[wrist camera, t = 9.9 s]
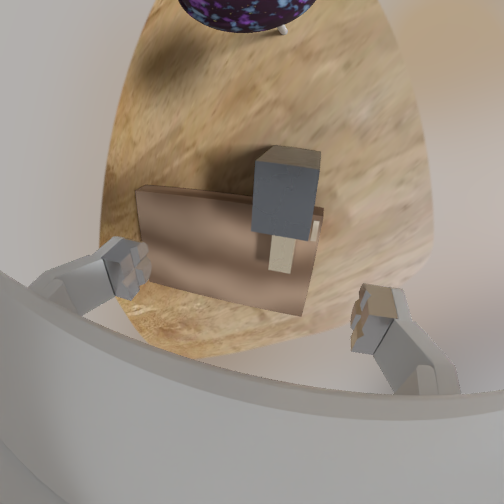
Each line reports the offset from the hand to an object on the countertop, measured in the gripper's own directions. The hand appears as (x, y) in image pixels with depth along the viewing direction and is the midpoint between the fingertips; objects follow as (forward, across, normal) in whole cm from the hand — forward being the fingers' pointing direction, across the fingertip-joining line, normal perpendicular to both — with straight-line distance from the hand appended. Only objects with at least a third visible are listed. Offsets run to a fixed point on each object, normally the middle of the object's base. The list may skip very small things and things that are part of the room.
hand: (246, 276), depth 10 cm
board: (+16, +6, +10) cm, 20 cm away
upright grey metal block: (+16, 0, +4) cm, 16 cm away
